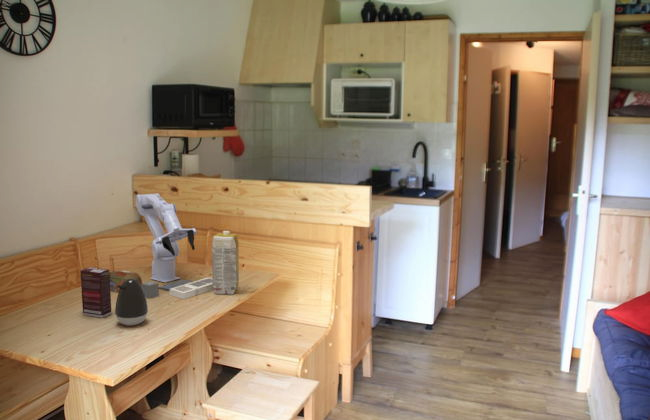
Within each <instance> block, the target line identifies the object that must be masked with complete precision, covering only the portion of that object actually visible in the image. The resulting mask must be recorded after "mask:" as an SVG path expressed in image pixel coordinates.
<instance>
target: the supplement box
mask: <svg viewBox="0 0 650 420" xmlns="http://www.w3.org/2000/svg"><path fill="white" fill-rule="evenodd" d="M110 272H111V271H110V269H108V268H101V267H100V268H99V267H91V266H89V267H86V268H83V269H80V284H81V288H80V289H81V300H82V301H81V303H82V315H83V316H87V317H88V316H89V317H96V318H100V319H102V318H105V317H108V316H110V315H112V299H111V298H112V297H111V295H112V294H111V289H110Z"/></svg>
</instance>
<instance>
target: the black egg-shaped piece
mask: <svg viewBox="0 0 650 420" xmlns="http://www.w3.org/2000/svg"><path fill="white" fill-rule="evenodd" d="M117 287H118V288H120V290H119V293H118V292H117V297H116V302H115V312H114V314H115V316H116V318H117V320H118V322H119V323H120V324H122V325H123V326H128V327H130V326H132V327H133V326H138V325H139V324H141V323H143V322H144V320H145V319H146V317H147V315H148V312H149V308H148V306H149V305H148V301H147V298H146V297H145V294H144V291H143V289H142V286H141V285H140V283H139V282H138V281H137V280H136V279H133V278H130V279H127V280H125V281H124V282H123V284H122V285H118V286H117Z"/></svg>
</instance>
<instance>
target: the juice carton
mask: <svg viewBox="0 0 650 420" xmlns="http://www.w3.org/2000/svg"><path fill="white" fill-rule="evenodd" d="M239 245H240V244H239V237H238V234H237V233H231V231H229V230H223V231H222V233H220V232H218V233H216V234H215V235H213V239H212V244H211V248H212V249H211V250H212V251H211V253H212V254H211V255H212V256H211V257H212V259H211V260H212V261H211V262H212V266H211V267H212V269H211V270H212V279H213V293H214V294H216V295H217V294H218V295H235V293H236V292H237V291H238V289H239V283H240V282H239V279H240V276H239V274H240V272H239V271H240V265H239V264H240V263H239V262H240V261H239V258H240V257H239V256H240V255H239V252H240V250H239V248H240V247H239Z"/></svg>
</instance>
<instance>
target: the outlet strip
mask: <svg viewBox="0 0 650 420" xmlns="http://www.w3.org/2000/svg"><path fill="white" fill-rule="evenodd" d="M193 281H194V280H193ZM210 291H214V289H213V277H208V276H207V277H205V278H202V279H198V280H195V281H194V282H191V283H187V284H184V285H181V286H178V287H174V288H171V289H169V291H168V292H169V296H172V297H174V298H178V299H181V298H182V300H187V299H188V298H192V297H195V296H198V295H202V294H203V293H207V292H210Z"/></svg>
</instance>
